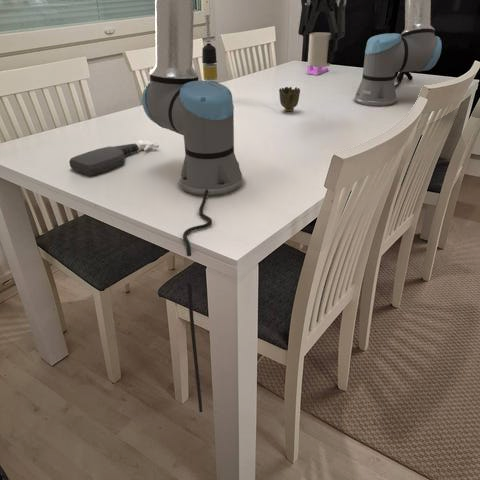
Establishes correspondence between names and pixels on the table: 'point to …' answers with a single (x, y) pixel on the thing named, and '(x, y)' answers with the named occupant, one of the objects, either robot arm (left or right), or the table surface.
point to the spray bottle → (106, 157)
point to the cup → (289, 98)
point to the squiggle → (401, 74)
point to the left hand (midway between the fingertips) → (318, 61)
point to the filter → (209, 57)
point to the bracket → (316, 70)
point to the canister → (318, 49)
